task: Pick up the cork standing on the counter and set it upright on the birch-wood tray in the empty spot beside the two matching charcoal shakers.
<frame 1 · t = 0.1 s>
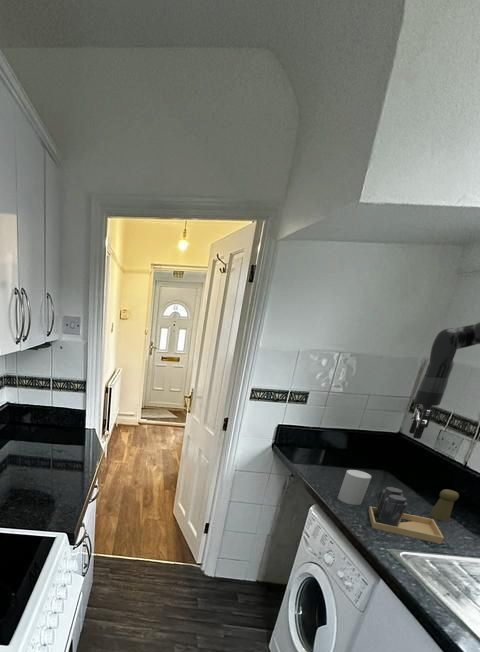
hand: (414, 435, 150), 27 cm above the counter, tool pointing down, fingers open, 8 cm apart
shaker A: (383, 518, 147), point 1 cm above the counter, touching tray
white upright cylinder: (348, 503, 160), on the counter
cork: (438, 518, 151), on the counter
tray: (401, 527, 142), on the counter
shaker B: (386, 526, 140), point 1 cm above the counter, touching tray
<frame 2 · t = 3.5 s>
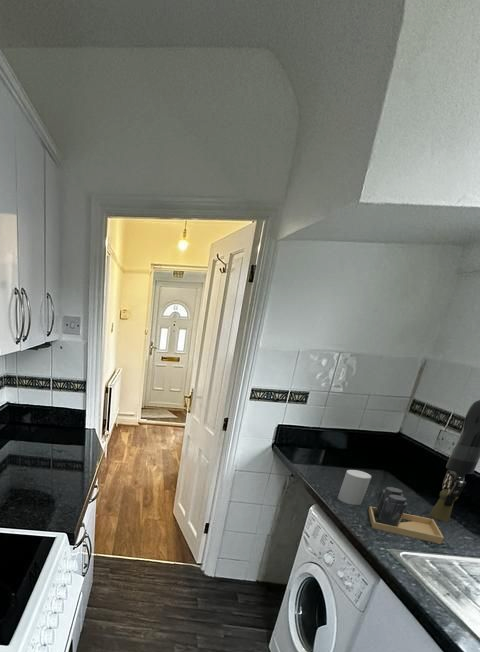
hand: (445, 502, 148), 6 cm above the counter, tool pointing down, fingers closed on cork, 5 cm apart
cork: (438, 518, 151), on the counter, touching gripper
everything else where it was.
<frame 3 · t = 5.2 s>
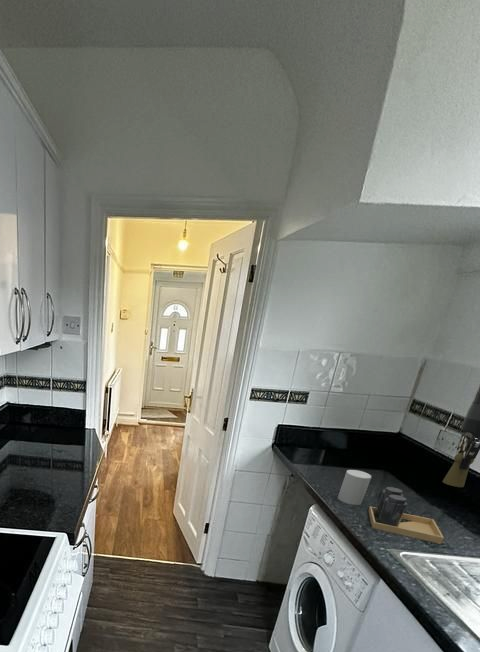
hand: (460, 466, 142), 20 cm above the counter, tool pointing down, fingers closed on cork, 5 cm apart
cork: (452, 484, 145), point 14 cm above the counter, touching gripper
everything else where it was.
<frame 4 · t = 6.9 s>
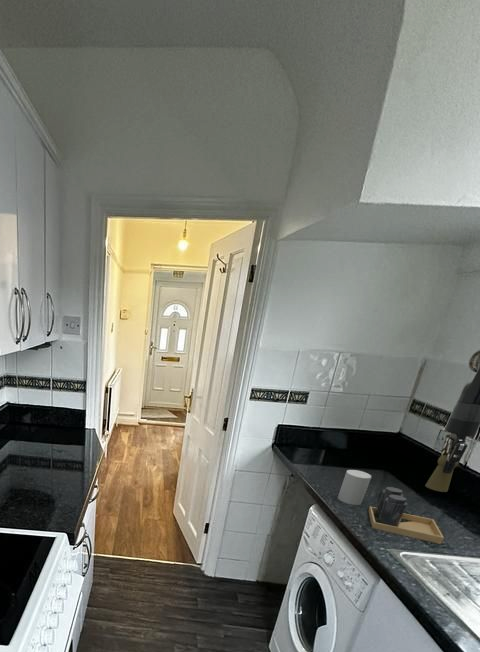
hand: (444, 470, 132), 22 cm above the counter, tool pointing down, fingers closed on cork, 5 cm apart
cork: (436, 488, 135), point 15 cm above the counter, touching gripper
everything else where it was.
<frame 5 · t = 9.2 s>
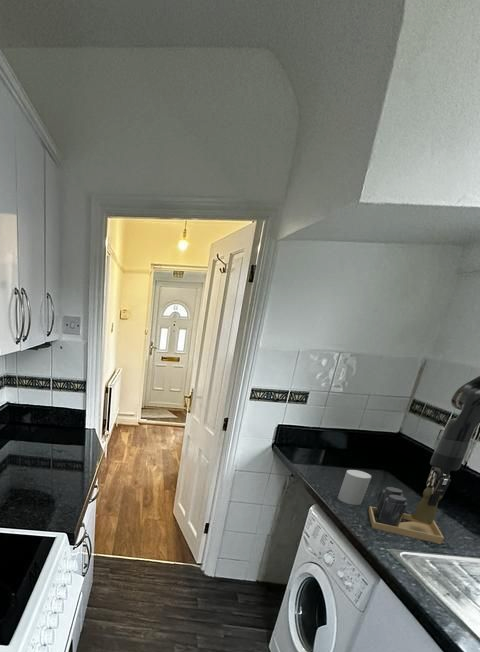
hand: (429, 501, 136), 11 cm above the counter, tool pointing down, fingers closed on cork, 5 cm apart
cork: (421, 519, 138), point 4 cm above the counter, touching gripper
everything else where it was.
when the fingers open (7 cm above the counter, at t = 10.7 s): cork stays where it is, resting on tray.
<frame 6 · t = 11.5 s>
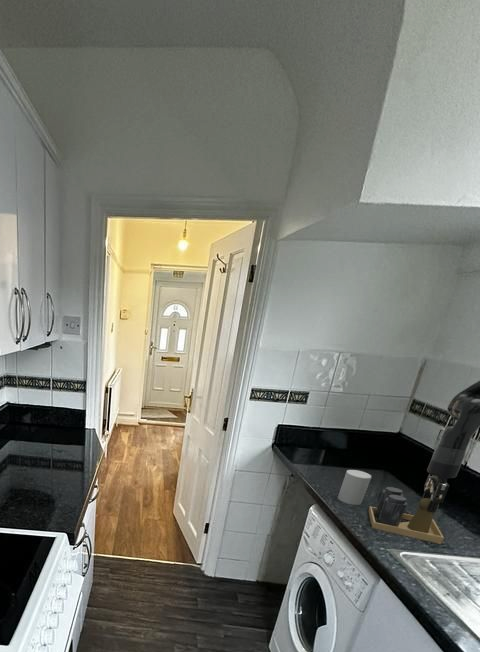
hand: (427, 507, 136), 9 cm above the counter, tool pointing down, fingers open, 8 cm apart
cork: (417, 529, 140), resting on tray
everything else where it was.
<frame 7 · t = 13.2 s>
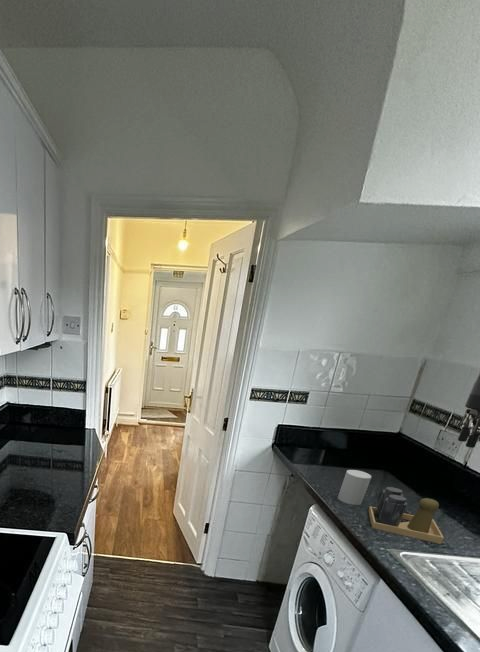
hand: (465, 444, 135), 29 cm above the counter, tool pointing down, fingers open, 8 cm apart
nothing on the counter moved.
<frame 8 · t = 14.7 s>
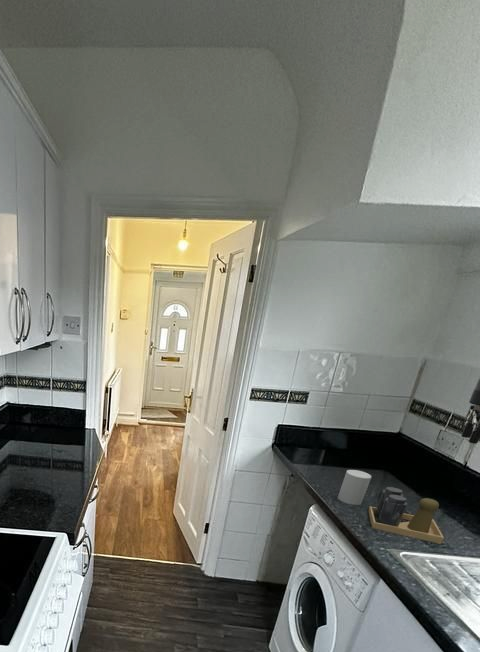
hand: (468, 440, 136), 30 cm above the counter, tool pointing down, fingers open, 8 cm apart
nothing on the counter moved.
at the end: cork inside the target area in the tray (0.4 cm from its centre), point 0.5 cm above the tray's base; cork tilted 0°; the gripper is holding nothing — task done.
